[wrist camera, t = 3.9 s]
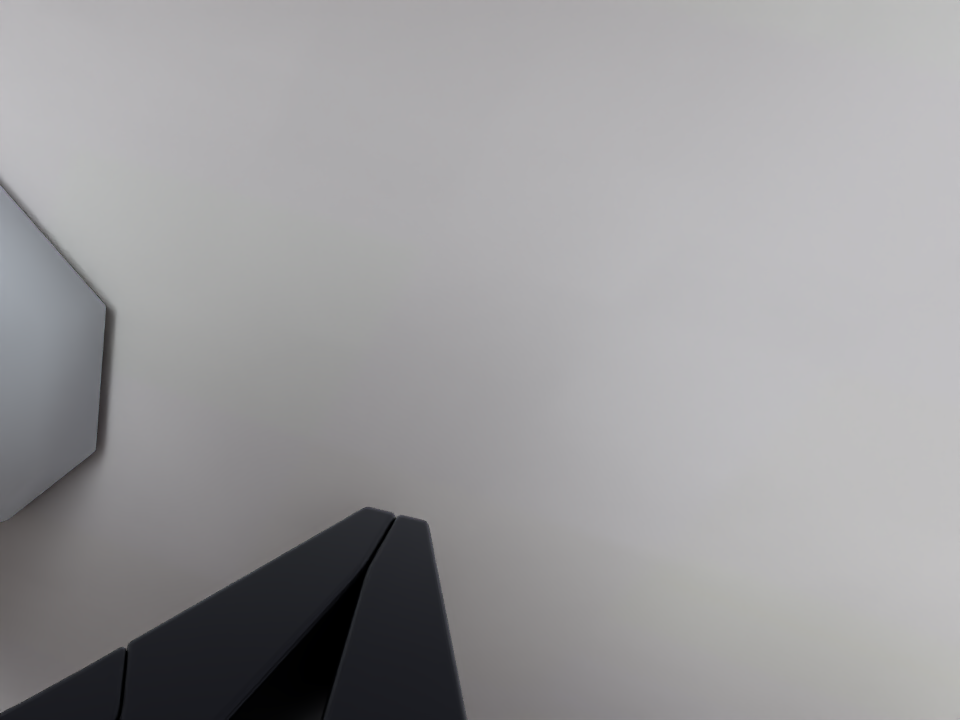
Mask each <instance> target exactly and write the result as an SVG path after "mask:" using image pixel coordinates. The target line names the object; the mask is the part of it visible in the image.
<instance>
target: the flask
mask: <svg viewBox="0 0 960 720" xmlns="http://www.w3.org/2000/svg"><path fill="white" fill-rule="evenodd" d="M105 314H106V305H105V304H104V303H103V302H102V301H101V300H100V299H99V297H98V296H97V295H96V294H95V293H94V292H93V291H92V289H91V288H90V287H89V286H88V285H87V284H86V283H85V281H84V280H83V279H82V278H81V277H80V276H79V275H78V273H77V272H76V271H75V270H74V269H73V268H72V267H71V265H70V264H69V263H68V262H67V261H66V260H65V259H64V257H63V256H62V255H61V254H60V253H59V252H58V251H57V249H56V248H55V247H54V246H53V245H52V244H51V243H50V241H49V240H48V239H47V238H46V237H45V236H44V235H43V233H42V232H41V231H40V230H39V229H38V228H37V227H36V225H35V224H34V223H33V222H32V221H31V220H30V219H29V217H28V216H27V215H26V214H25V213H24V212H23V211H22V209H21V208H20V207H19V206H18V205H17V204H16V203H15V201H14V200H13V199H12V198H11V197H10V196H9V195H8V193H7V192H6V191H5V190H4V189H3V188H2V187H1V185H0V522H2V521H6V520H8V519H10V518H11V517H12V516H14V515H15V514H16V513H17V512H19V511H20V510H21V509H22V508H24V507H25V506H26V505H28V504H29V503H30V502H31V501H33V500H34V499H35V498H36V497H38V496H39V495H40V494H41V493H43V492H44V491H45V490H47V489H48V488H49V487H50V486H52V485H53V484H54V483H55V482H57V481H58V480H59V479H61V478H62V477H63V476H64V475H66V474H67V473H68V472H69V471H71V470H72V469H73V468H74V467H76V466H77V465H78V464H80V463H81V462H82V461H83V460H85V459H86V458H87V457H88V456H90V455H91V454H92V453H94V452H95V451H96V441H97V427H98V413H99V399H100V385H101V371H102V356H103V342H104V328H105Z"/></svg>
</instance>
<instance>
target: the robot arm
mask: <svg viewBox="0 0 960 720" xmlns="http://www.w3.org/2000/svg"><path fill="white" fill-rule="evenodd" d="M0 720H467V717H466V711H465V706H464V701H463V696H462V691H461V686H460V681H459V676H458V671H457V666H456V661H455V656H454V651H453V646H452V641H451V636H450V630H449V625H448V620H447V615H446V610H445V605H444V600H443V595H442V590H441V585H440V580H439V575H438V570H437V565H436V560H435V555H434V549H433V544H432V539H431V534H430V529H429V525H428V523H427V522H426V521H424V520H421V519H416V518H412V517H408V516H404V515H400V516H398V517H397V518H396V517H395V515H394V513H392V512H388V511H384V510H380V509H376V508H372V507H366V508H363V509H361V510H359V511H358V512H356V513H354V514H352V515H351V516H349V517H347V518H345V519H344V520H342V521H340V522H338V523H337V524H335V525H333V526H331V527H330V528H328V529H326V530H324V531H323V532H321V533H319V534H317V535H316V536H314V537H312V538H311V539H309V540H307V541H305V542H304V543H302V544H300V545H298V546H297V547H295V548H293V549H291V550H290V551H288V552H286V553H284V554H283V555H281V556H279V557H277V558H276V559H274V560H272V561H270V562H269V563H267V564H265V565H263V566H262V567H260V568H258V569H257V570H255V571H253V572H251V573H250V574H248V575H246V576H244V577H243V578H241V579H239V580H237V581H236V582H234V583H232V584H230V585H229V586H227V587H225V588H223V589H222V590H220V591H218V592H216V593H215V594H213V595H211V596H209V597H208V598H206V599H204V600H203V601H201V602H199V603H197V604H196V605H194V606H192V607H190V608H189V609H187V610H185V611H183V612H182V613H180V614H178V615H176V616H175V617H173V618H171V619H169V620H168V621H166V622H164V623H162V624H161V625H159V626H157V627H155V628H154V629H152V630H150V631H148V632H147V633H145V634H143V635H142V636H140V637H138V638H136V639H135V640H133V641H131V642H130V643H129V644H128V647H127V650H126V648H124V647H121V648H118V649H117V650H115V651H113V652H111V653H110V654H108V655H106V656H104V657H103V658H101V659H99V660H97V661H96V662H94V663H92V664H90V665H89V666H87V667H85V668H83V669H82V670H80V671H78V672H76V673H74V674H72V675H71V676H69V677H67V678H65V679H63V680H62V681H60V682H58V683H56V684H54V685H52V686H51V687H49V688H47V689H45V690H43V691H41V692H40V693H38V694H36V695H34V696H32V697H30V698H29V699H27V700H25V701H23V702H21V703H20V704H18V705H16V706H14V707H12V708H10V709H8V710H6V711H4V712H2V713H0Z"/></svg>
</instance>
